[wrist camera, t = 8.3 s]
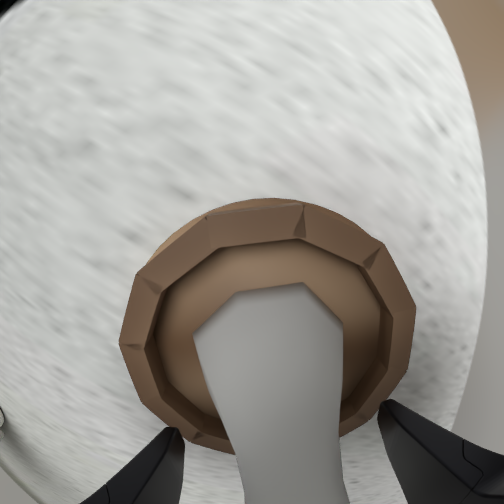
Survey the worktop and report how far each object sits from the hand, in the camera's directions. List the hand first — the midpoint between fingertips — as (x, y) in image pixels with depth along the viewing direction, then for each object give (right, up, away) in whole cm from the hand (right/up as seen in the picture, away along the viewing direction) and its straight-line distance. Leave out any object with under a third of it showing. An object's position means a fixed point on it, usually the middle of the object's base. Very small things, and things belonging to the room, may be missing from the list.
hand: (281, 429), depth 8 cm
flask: (0, +1, +5) cm, 5 cm away
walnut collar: (0, +1, +6) cm, 6 cm away
